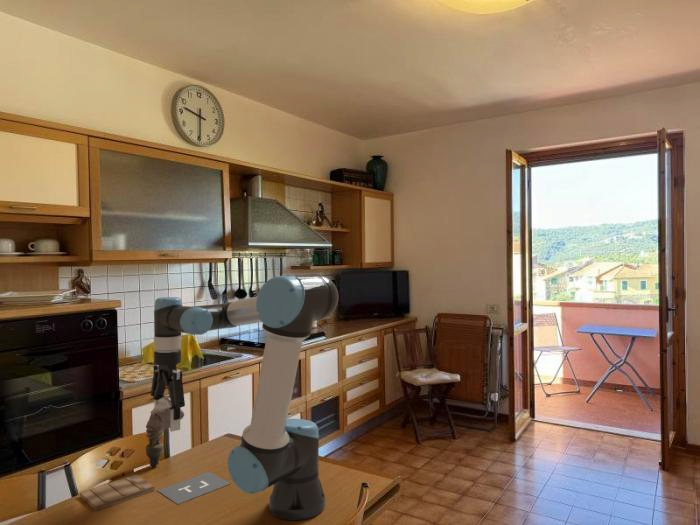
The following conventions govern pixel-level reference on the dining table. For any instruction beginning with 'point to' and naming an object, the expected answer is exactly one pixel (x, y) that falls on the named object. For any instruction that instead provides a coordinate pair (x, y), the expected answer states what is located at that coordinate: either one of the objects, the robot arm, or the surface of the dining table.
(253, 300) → the robot arm
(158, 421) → the stone
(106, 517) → the dining table surface
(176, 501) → the card
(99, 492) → the brown flat segmented slab
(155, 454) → the dark grey lumpy column
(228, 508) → the dining table surface
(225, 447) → the dining table surface
